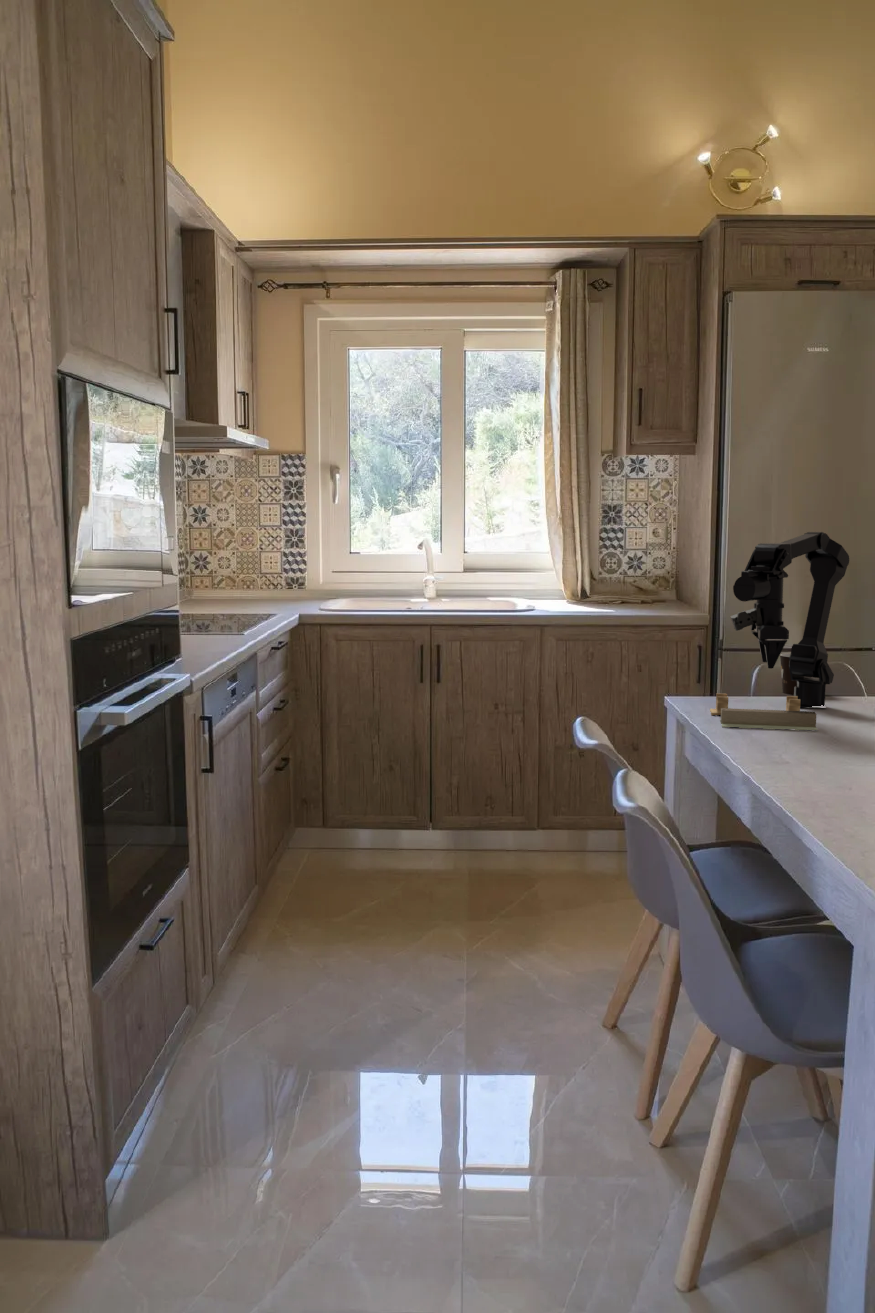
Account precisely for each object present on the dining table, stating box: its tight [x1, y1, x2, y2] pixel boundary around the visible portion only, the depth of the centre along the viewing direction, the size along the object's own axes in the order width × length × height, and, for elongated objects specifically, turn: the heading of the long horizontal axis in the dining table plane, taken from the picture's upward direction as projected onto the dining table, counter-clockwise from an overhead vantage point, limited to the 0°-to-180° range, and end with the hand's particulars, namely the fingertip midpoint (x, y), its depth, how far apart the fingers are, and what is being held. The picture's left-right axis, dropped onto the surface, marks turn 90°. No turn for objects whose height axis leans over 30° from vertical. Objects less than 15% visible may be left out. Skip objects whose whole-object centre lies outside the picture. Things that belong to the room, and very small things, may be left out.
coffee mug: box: [779, 652, 806, 696], centre depth 268 cm, size 12×9×10 cm
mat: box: [719, 720, 819, 731], centre depth 223 cm, size 20×7×1 cm, turn 78°
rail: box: [719, 707, 817, 728], centre depth 223 cm, size 20×3×3 cm, turn 78°
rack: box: [709, 692, 801, 716], centre depth 236 cm, size 21×6×4 cm, turn 78°
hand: (767, 665), depth 234 cm, fingers open, 9 cm apart
